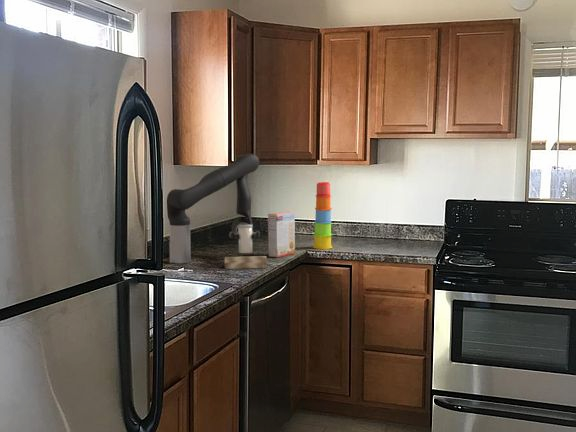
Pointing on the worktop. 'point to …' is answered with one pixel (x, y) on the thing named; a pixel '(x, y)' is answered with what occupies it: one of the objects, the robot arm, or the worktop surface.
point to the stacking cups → (323, 217)
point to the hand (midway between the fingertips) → (245, 237)
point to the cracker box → (281, 234)
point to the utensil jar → (245, 238)
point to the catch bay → (246, 262)
